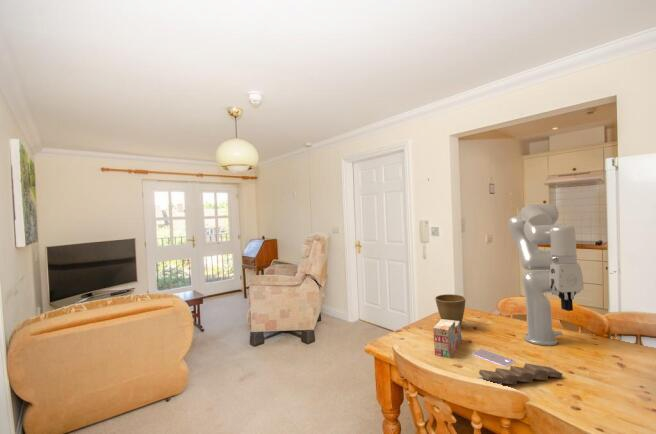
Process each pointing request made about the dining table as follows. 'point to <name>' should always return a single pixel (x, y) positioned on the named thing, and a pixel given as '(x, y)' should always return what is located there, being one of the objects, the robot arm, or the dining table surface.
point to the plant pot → (451, 307)
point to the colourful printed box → (446, 337)
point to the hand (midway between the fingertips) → (567, 309)
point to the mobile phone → (493, 358)
